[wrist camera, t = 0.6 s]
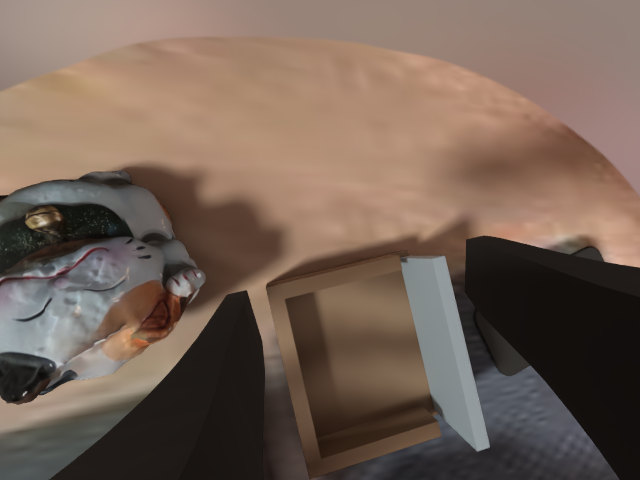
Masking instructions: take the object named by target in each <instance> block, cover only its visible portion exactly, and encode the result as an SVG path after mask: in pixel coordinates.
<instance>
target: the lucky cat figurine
mask: <svg viewBox="0 0 640 480" xmlns="http://www.w3.org/2000/svg"><path fill="white" fill-rule="evenodd" d="M205 281H206V275H205V273H204V272H203V271H201V270H199V269H198V267H197V266H196V264H195V262H194V260H193V259H191V258H189V254H188V252H187V251H186V248H185V246H184V244H183V243H182V242H181V241H179V240H177V238H176V236H175V235H174V232H173V230H172V222H171V219H170V217H169V214H168V212H167V210H166V209H165V208H164V207H163V206H162V205H161V204H160V202H159V201H158V199H157V198H156V197H155V196H154V195H153V194H152V193H151V191H150V190H148V189H146V188H144V187H140V186H136V185H133V184H132V183H131V176H130V175H129V174H128V173H127V172H124V171H123V170H120V171H115V172H91V173H88V174H86V175H84V176H82V177H80V178H79V179H76V180H62V179H61V180H52V181H45V182H41V183H38V184H34V185H31V186H27V187H24V188H21V189H19V190H16V191H14V192H13V193H11V194H10V195H2V196H0V396H1V398H2V399H3V400H5V401H6V402H7V403H14V404H17V405H19V404H22V403H27V402H31V401H32V400H34V399H35V398H36V397H37V396H38V395H44V394H46V393H48V392H50V391H52V390H53V389H55V388H56V387H58V386H60V385H62V384H64V383H66V382H68V381H71V380H85V379H91V378H95V377H100V376H104V375H109V374H113V373H114V372H115V371H116V370H118V369H119V368H120V367H121V366H122V365H123V364H125V363H126V362H127V361H129V360H130V359H132V358H134V357H136V356H137V355H140V354H141V353H142V352H143V351H144V350H145V349H146V348H147V347H148V346H149V345H150V344H153V343H155V342H158V341H160V340H162V339H164V338H166V337H167V336H168V335H169V334H170V333H171V332H172V331H173V329H174V328H175V326H176V325H177V323H178V321H179V320H180V318H181V316H182V314H183V312H184V310H185V309H186V307H187V305H188V304H189V303H190V302H191V301H192V300H193V299H194V298H195V297H196V295H197V293H198V291H199V288H200V287H201V286H202V285H203V284H204V283H205Z"/></svg>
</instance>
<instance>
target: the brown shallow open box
mask: <svg viewBox="0 0 640 480" xmlns="http://www.w3.org/2000/svg"><path fill="white" fill-rule="evenodd" d="M406 256H409V254H408V250H403V251H399V252H395V253H391V254H387V255H383V256H378V257H374V258H370V259H366V260H362V261H358V262H354V263H349V264H345V265H341V266H337V267H333V268H329V269H325V270H320V271H316V272H312V273H308V274H304V275H300V276H296V277H291V278H287V279H283V280H279V281H275V282H271V283H267V285H266V290H267V295H268V299H269V303H270V308H271V312H272V317H273V321H274V325H275V330H276V334H277V339H278V343H279V347H280V352H281V356H282V360H283V365H284V369H285V374H286V378H287V382H288V387H289V391H290V396H291V400H292V404H293V409H294V413H295V418H296V422H297V426H298V431H299V435H300V440H301V444H302V448H303V453H304V457H305V462H306V466H307V470H308V475H309V479H312V478H315V477H318V476H321V475H324V474H327V473H330V472H333V471H336V470H339V469H342V468H346V467H349V466H352V465H355V464H358V463H361V462H364V461H367V460H370V459H373V458H376V457H379V456H382V455H385V454H388V453H391V452H394V451H397V450H400V449H403V448H406V447H409V446H412V445H415V444H418V443H421V442H425V441H428V440H431V439H434V438H437V437H440V436H441V432H440V428H439V424H438V421H437V420H436V419H435V418H434V417H433V416H434V415H437V414H438V413H437V412H436V411H435V410H434V406H433V401H432V397H431V393H430V389H429V384H428V380H427V376H426V372H425V367H424V363H423V359H422V354H421V350H420V346H419V342H418V337H417V333H416V329H415V325H414V320H413V316H412V312H411V307H410V303H409V299H408V295H407V290H406V286H405V282H404V277H403V273H402V266H401V261H400V258H402V257H406Z"/></svg>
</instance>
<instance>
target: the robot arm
mask: <svg viewBox="0 0 640 480" xmlns="http://www.w3.org/2000/svg"><path fill="white" fill-rule="evenodd" d="M465 293H466V294H467V296H468V297H469V299H470V300H471V301H472V303H473V304H474V306H475V307H476V308H477V310H478V311H479V312H480V313H481V315H482V316H483V317H484V318H485V319H486V320H487V321H488V322H489V323H490V325H491V326H492V327H493V328H494V329H495V330H496V331H497V332H498V333H499V334H500V335H501V336H502V337H503V338H504V339H505V340H506V341H507V342H508V343H509V344H510V345H511V346H512V347H513V348H514V349H515V350H516V351H517V352H518V353H519V354H520V355H521V356H522V357H523V358H524V359H525V360H526V361H527V362H528V363H529V364H530V365H531V366H532V367H533V368H534V369H535V371H536V372H537V373H538V374H539V375H540V376H541V377H542V378H543V379H544V380H545V382H546V383H547V384H548V385H549V386H550V388H551V389H552V390H553V391H554V393H555V394H556V395H557V396H558V397H559V399H560V400H561V401H562V402H563V404H564V405H565V406H566V407H567V409H568V410H569V411H570V412H571V414H572V415H573V416H574V418H575V419H576V420H577V422H578V423H579V424H580V425H581V427H582V428H583V429H584V431H585V432H586V433H587V435H588V436H589V437H590V439H591V440H592V441H593V443H594V444H595V445H596V447H597V448H598V449H599V451H600V452H601V454H602V455H603V456H604V458H605V459H606V461H607V462H608V463H609V465H610V466H611V468H612V469H613V470H614V472H615V473H616V475H617V476H618V477H619V479H620V480H640V268H638V267H632V266H625V265H619V264H613V263H607V262H602V261H597V260H592V259H587V258H582V257H578V256H573V255H569V254H564V253H560V252H556V251H551V250H547V249H543V248H539V247H535V246H531V245H527V244H523V243H519V242H515V241H511V240H506V239H502V238H497V237H491V236H480V237H475V238H471V239H467V240H466V271H465ZM264 388H265V366H264V355H263V344H262V339H261V336H260V333H259V329H258V326H257V323H256V319H255V316H254V313H253V309H252V306H251V303H250V299H249V296H248V293H247V290H245V291H241V292H237V293H232V294H228V295H226V297H225V298H224V300H223V301H222V303H221V304H220V306H219V307H218V309H217V310H216V312H215V313H214V315H213V316H212V318H211V319H210V320H209V322H208V323H207V325H206V326H205V328H204V329H203V331H202V332H201V333H200V335H199V336H198V338H197V339H196V340H195V342H194V343H193V344H192V345H191V347H190V348H189V349H188V350H187V352H186V353H185V354H184V356H183V357H182V358H181V359H180V361H179V362H178V363H177V364H176V365H175V367H174V368H173V369H172V370H171V371H170V372H169V373H168V375H167V376H166V377H165V378H164V379H163V380H162V381H161V382H160V383H159V384H158V385H157V386H156V387H155V388H154V389H153V391H152V392H151V393H150V394H149V395H148V396H147V397H146V398H145V399H144V400H143V401H141V402H140V403H139V404H138V405H137V406H136V407H135V408H134V409H133V410H132V411H131V412H130V413H129V414H127V415H126V416H125V417H124V418H123V419H122V420H121V421H120V422H119V423H118V424H117V425H116V426H115V427H113V428H112V429H111V430H110V431H109V432H108V433H107V434H105V435H104V436H103V437H102V438H101V439H100V440H98V441H97V442H96V443H95V444H94V445H92V446H91V447H90V448H89V449H88V450H86V451H85V452H84V453H83V454H81V455H80V456H79V457H78V458H76V459H75V460H74V461H73V462H71V463H70V464H69V465H68V466H66V467H65V468H64V469H62V470H61V471H60V472H59V473H57V474H56V475H55V476H53V477H52V478H51V479H49V480H264V473H263V418H264Z"/></svg>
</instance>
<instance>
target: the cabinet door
mask: <svg viewBox="0 0 640 480" xmlns="http://www.w3.org/2000/svg"><path fill="white" fill-rule="evenodd" d="M400 261H401V266H402V273H403V277H404V282H405V286H406V290H407V295H408V299H409V303H410V307H411V312H412V316H413V320H414V325H415V329H416V333H417V337H418V342H419V346H420V350H421V354H422V359H423V363H424V367H425V372H426V376H427V380H428V384H429V389H430V393H431V397H432V401H433V406H434V410H435V411H436V412H437V413H438V414H439V415H440V416H441V417H442V418H443V419H444V420H445V421H446V422H447V423H448V424H449V425H450V426H451V427H453V428H454V429H455V430H456V431H457V432H458V433H459V434H460V435H461V436H462V437H463V438H464V439H465V440H466V441H467V442H468V443H469V444H470V445H471V446H472V447H473V448H474V449H475V450H476V451H477V452H478V451H481V450H484V449H487V448H490V445H489V440H488V436H487V432H486V428H485V424H484V419H483V415H482V411H481V407H480V402H479V398H478V394H477V390H476V385H475V381H474V377H473V373H472V368H471V364H470V360H469V356H468V351H467V347H466V343H465V339H464V335H463V330H462V326H461V322H460V318H459V313H458V309H457V305H456V301H455V296H454V292H453V288H452V284H451V279H450V275H449V271H448V267H447V262H446V258H445V256H406V257H402V258H400Z"/></svg>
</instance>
